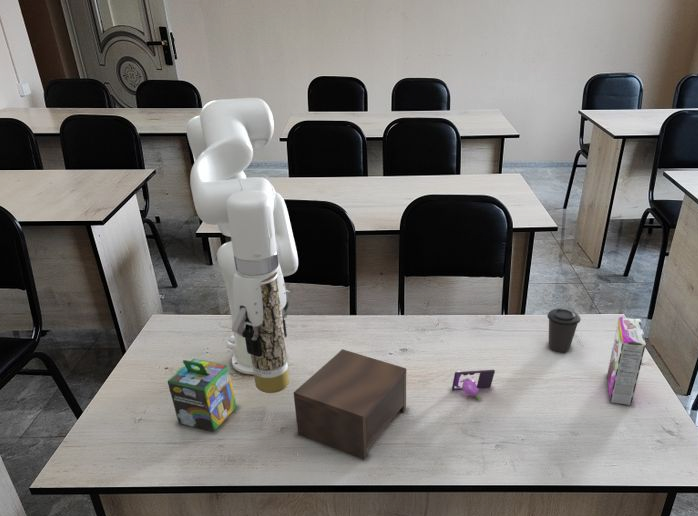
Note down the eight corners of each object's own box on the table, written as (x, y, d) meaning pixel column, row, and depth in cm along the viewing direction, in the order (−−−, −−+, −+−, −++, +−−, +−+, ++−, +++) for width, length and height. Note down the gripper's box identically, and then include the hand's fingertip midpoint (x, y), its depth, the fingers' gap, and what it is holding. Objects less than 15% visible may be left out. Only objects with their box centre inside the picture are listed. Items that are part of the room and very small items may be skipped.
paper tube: (282, 397, 119) (268, 284, 106) (250, 392, 120) (232, 280, 107) (294, 376, 125) (282, 267, 111) (263, 372, 126) (248, 264, 112)
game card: (494, 366, 135) (454, 369, 134) (498, 386, 132) (458, 388, 131) (489, 383, 140) (451, 386, 140) (493, 402, 137) (454, 405, 136)
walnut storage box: (298, 434, 125) (293, 392, 120) (344, 389, 139) (342, 349, 133) (364, 460, 119) (362, 416, 113) (406, 409, 133) (406, 368, 127)
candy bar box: (605, 375, 144) (618, 315, 136) (627, 378, 143) (641, 318, 135) (608, 403, 135) (622, 341, 126) (631, 406, 134) (647, 344, 125)
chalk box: (237, 407, 133) (227, 351, 125) (213, 433, 126) (201, 375, 118) (202, 399, 136) (190, 343, 128) (176, 424, 128) (162, 366, 121)
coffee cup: (550, 335, 160) (555, 302, 154) (580, 345, 156) (586, 311, 150) (537, 349, 154) (542, 314, 149) (567, 359, 150) (573, 324, 145)
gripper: (270, 240, 116) (279, 320, 125) (206, 276, 103) (221, 362, 112) (302, 248, 113) (309, 329, 122) (240, 286, 100) (253, 373, 109)
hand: (267, 344), depth 117 cm, fingers closed on paper tube, 6 cm apart
